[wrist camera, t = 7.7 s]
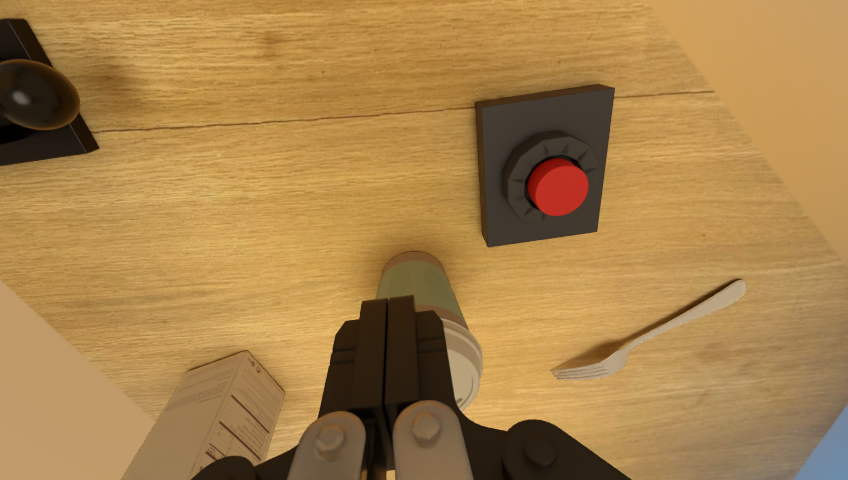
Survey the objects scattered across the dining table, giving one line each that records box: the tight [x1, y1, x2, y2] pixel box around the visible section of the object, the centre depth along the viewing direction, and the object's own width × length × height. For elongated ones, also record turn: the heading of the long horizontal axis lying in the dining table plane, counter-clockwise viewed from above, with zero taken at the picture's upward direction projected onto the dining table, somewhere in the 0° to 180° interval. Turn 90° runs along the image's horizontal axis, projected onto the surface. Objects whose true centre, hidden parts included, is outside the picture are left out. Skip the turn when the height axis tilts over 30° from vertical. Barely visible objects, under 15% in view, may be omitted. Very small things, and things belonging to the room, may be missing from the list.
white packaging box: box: [121, 351, 285, 480], centre depth 33 cm, size 7×7×13 cm
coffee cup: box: [376, 252, 483, 412], centre depth 28 cm, size 8×9×12 cm
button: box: [527, 158, 588, 216], centre depth 25 cm, size 4×4×2 cm
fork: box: [551, 280, 746, 380], centre depth 39 cm, size 3×21×3 cm, turn 125°
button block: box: [475, 84, 615, 247], centre depth 27 cm, size 11×9×4 cm
